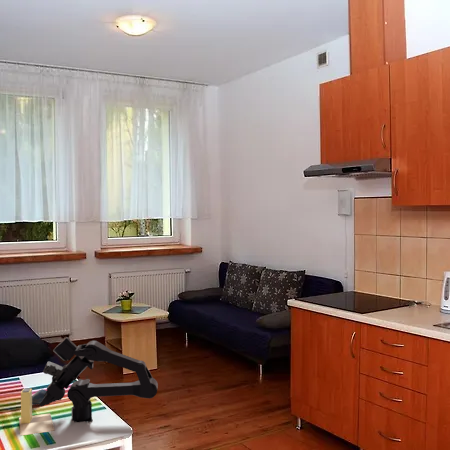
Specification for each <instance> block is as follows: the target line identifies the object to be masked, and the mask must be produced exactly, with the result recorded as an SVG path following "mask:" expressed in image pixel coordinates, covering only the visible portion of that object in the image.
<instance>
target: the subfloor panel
mask: <svg viewBox="0 0 450 450" xmlns="http://www.w3.org/2000/svg"><path fill="white" fill-rule="evenodd" d="M18 421H19V429H20V430H19V432H20V436H27V435H33V434H40V433H47V432H49V433H50V432H55V431H56V430H55V427H54V423H53V420H52V415H51V413H42V414H36V415H32V420H31V422H30V423H22V424H21V416H20V417H18Z"/></svg>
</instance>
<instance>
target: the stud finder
mask: <svg viewBox="0 0 450 450" xmlns="http://www.w3.org/2000/svg"><path fill="white" fill-rule="evenodd" d="M32 395H33V388H30V387H29V388H23V389H22V390H21V391H20V417H21V424H22V423H30V422H31V420H32V416H33V405H32Z"/></svg>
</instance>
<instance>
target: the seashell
mask: <svg viewBox="0 0 450 450" xmlns="http://www.w3.org/2000/svg"><path fill="white" fill-rule="evenodd" d="M46 391H47V389H39V390H37V391H36V392H35V393H33V394H32V406H36V405H37V406H38V405H39V404H40V403H41V401H42V400H43V399H44V394H45V393H46Z"/></svg>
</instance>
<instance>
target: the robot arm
mask: <svg viewBox="0 0 450 450" xmlns="http://www.w3.org/2000/svg"><path fill="white" fill-rule="evenodd" d="M52 351H53V352H54V353H55V354H56V355H57V356H58V357H59V358H60V359H61V360H62V361H65V362H67V361H69V362H68V364H64V365H63V366H62V365H59V364H57V363H54V362H51V361H47V363H46V364H45V366H44V369H43V371H42V373H43V374H45V375H49V376H51V382H50V383H49V385H48V386H46V387H47V388H46V393H45V394H44V399H43V400H42V401H41V403H40V404H38V405H39V406H40V407H45V406H46V405H49V404H52V403H55V402H56V401H57V402H58V401H61V400H62V399H63V398H64V397H65V395H67V398H68V400H69V401H71V402H72V407H71V420H72V421H73V423H74V424H75V423H81V422H82V423H83V422H84V423H89V422H93V421H94V420H93V410H92V409H93V408H92V407H93V405H92V404H93V403H92V400H91V399H92V398H97V397H99V398H101V397H118V396H119V397H120V396H134V397H138V398H142V399H153V398H155V396H156V395H157V393H158V388H159V387H158V386H159V384H158V381H157V380H156V379H155V378H154V377H153V375H152V374H151V371H150V370H149V368H148V367H147V363H146V362H145V361H144V360H139V359H137V358H134V357H131V356H129V355H125V354H122V353H120V352H117V351H114V350H111V348H110V349H109V348H108V346H106V345H105V344H104V343H103V344H102V343H101V342H99V341H97V340H90V341H88V342H87V343H83V344H79V345H78V346H77V345H76V344H75V343H74V342H73V341H72V340H71V339H70V337H65V338H64V339H63V341H61V342H59V343H58V345H56V347H54V349H53V350H52ZM73 357H74V358H73ZM94 362H106V363H109V364H112V365H114V366H117V367H120V368H123V369H126V370H128V371H131V372H135V373H136V375H137V376H136V377H137V379H138V380H136V381H132V382H117V383H115V382H114V383H112V382H111V383H97V384H96V383H92V382H90V381H91V379H90V378H87V379H80V378H79V379H78V380H77V378H78V377H79V376H80V375H81V373H83V371H84V370H86V369H87V367H88V368H89V369H90V370H93V369H94ZM69 386H70V387H69ZM67 389H68V391H67V393H66V390H67Z"/></svg>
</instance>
